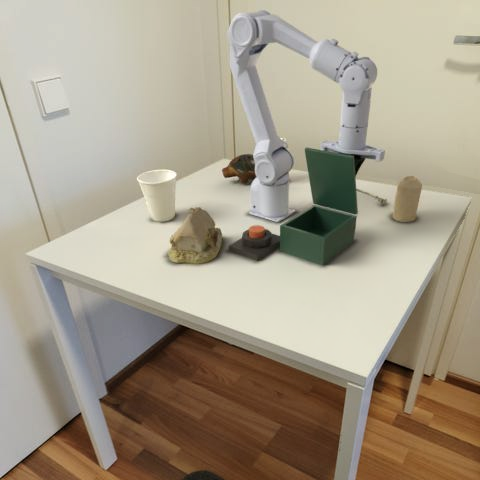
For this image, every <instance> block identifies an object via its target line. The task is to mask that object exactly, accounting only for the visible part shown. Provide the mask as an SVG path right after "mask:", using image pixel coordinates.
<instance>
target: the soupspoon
mask: <svg viewBox="0 0 480 480" xmlns="http://www.w3.org/2000/svg"><path fill="white" fill-rule="evenodd" d="M356 192H359V193H362V194H364V195H367V196H369V197H372V198H374V200H377V201H378V202H379V203H381V205H382V206H384V205H386V203H387V202H388V201H387V198H382V197H380V196H378V195H375V194H372V193H371V192H367V191H365V190H363V189H359V188H357V187H356Z"/></svg>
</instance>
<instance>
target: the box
mask: <svg viewBox="0 0 480 480" xmlns="http://www.w3.org/2000/svg"><path fill="white" fill-rule="evenodd" d="M357 218H358V215H355V214H351V213H347V212H343V211H339V210H335V209H331V208H328V207H324V206H320V205H316V204H313V205H311V206H310V207H307V208H306V209H305V210H303V211H302V212H300V213H298V214H296V215H295V216H293V217H291V218H290V219H288V220H287V221H285V222H284V223H282V224H280V225H279V236H280V246H279V252H281V253H284V254H287V255H290V256H293V257H295V258H299V259H302V260H305V261H308V262H311V263H314V264H317V265H319V266H323V267H324V265H326V264H327V263H328V262H329V261H330V260H332V259H333V258H334V257H336V256H337V255H338V254H340V253H341V252H342V251H343V250H344V249H346V248H347V247H349V246H350V245H351V244H352V243H354V241H355V235H356V225H357Z"/></svg>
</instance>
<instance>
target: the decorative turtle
mask: <svg viewBox="0 0 480 480" xmlns="http://www.w3.org/2000/svg"><path fill="white" fill-rule="evenodd" d="M221 173H222V175H223V176H222V177H224V178H225V179H229V178H236V177H237V178H238V179H239V181H240V183H241V184H242V185H245V184H247V183H248V182H249V181H251V180H252V181H253V180H254V179H255V178H256V177H257V176H256V174H255V161H254V158H253V154H252V153H244V154H240V155H238V156H236V157H234V158H232V159H231V160H230V161H229V163H228V165H226V167H223V168H222V169H221Z"/></svg>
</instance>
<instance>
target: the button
mask: <svg viewBox="0 0 480 480" xmlns="http://www.w3.org/2000/svg"><path fill="white" fill-rule="evenodd" d="M248 229H249V237H250V238H254V239H259V238H263V237H265V229H266V228H265V227H264V226H263V225H259V224H257V225H256V224H255V225H251V226H249V228H248Z"/></svg>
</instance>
